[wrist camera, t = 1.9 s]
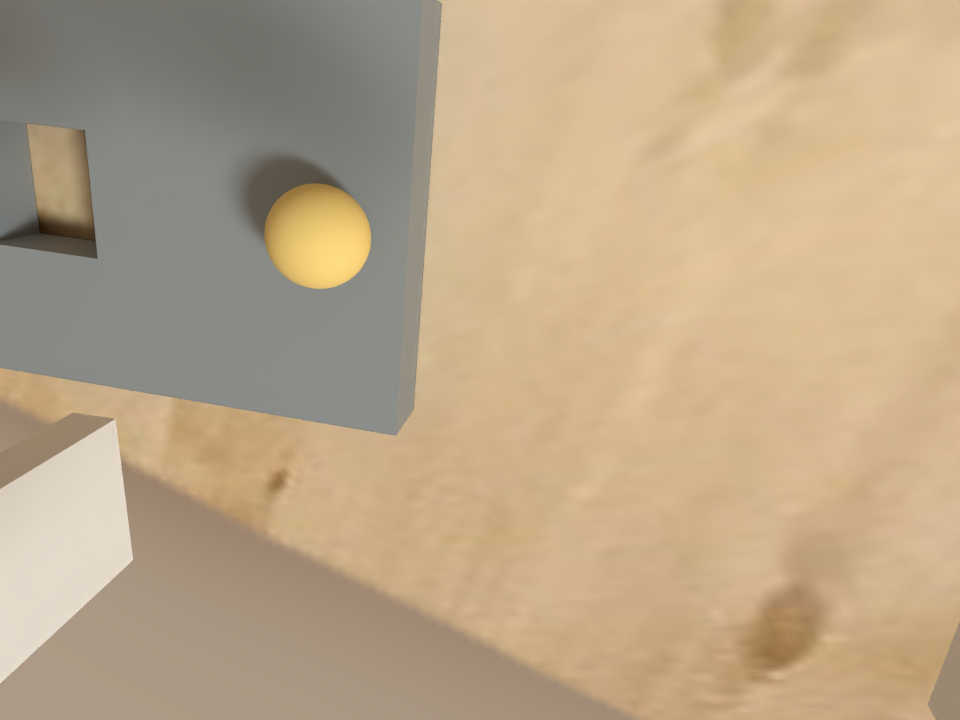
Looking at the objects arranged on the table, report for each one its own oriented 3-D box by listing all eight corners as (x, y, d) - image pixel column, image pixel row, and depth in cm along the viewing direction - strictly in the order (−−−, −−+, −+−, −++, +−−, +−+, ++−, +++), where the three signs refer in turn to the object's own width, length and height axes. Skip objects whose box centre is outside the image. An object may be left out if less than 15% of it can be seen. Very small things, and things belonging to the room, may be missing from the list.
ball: (292, 173, 28) (243, 182, 24) (386, 185, 27) (351, 195, 23) (292, 269, 29) (245, 292, 25) (382, 282, 29) (348, 307, 25)
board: (-40, -37, 30) (-105, -53, 27) (441, 4, 27) (423, -10, 25) (17, 343, 36) (-32, 362, 34) (413, 409, 34) (396, 435, 31)
